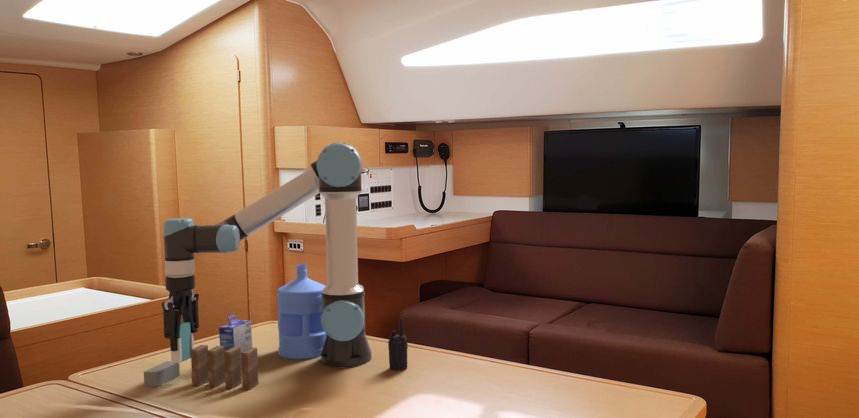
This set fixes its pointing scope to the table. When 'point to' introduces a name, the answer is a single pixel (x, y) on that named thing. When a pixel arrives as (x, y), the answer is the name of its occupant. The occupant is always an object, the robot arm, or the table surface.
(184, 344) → the teal domino
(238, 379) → the domino
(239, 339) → the ink cartridge box
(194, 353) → the domino
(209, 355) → the domino
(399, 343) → the two-way radio
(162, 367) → the block
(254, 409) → the table surface
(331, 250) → the robot arm
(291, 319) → the water jug
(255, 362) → the domino
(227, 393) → the table surface
